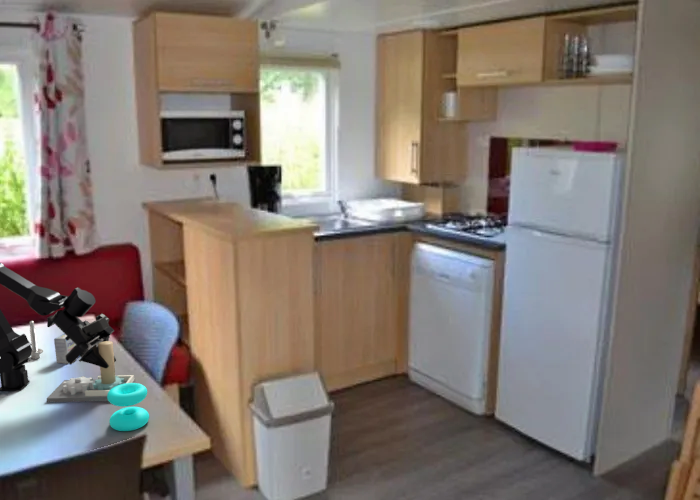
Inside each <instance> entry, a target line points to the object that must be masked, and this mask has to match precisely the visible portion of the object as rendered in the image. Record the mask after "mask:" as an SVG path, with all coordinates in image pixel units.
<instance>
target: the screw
mask: <svg viewBox="0 0 700 500" xmlns="http://www.w3.org/2000/svg"><path fill="white" fill-rule="evenodd" d="M36 330H37V329H36V328H35V322H34V320H30V321H29V333H30V336H29V337H30V341H31V342H30V343H31V344H32V345H31V348H32V353H31V356H30V357H31V359H32V360H37V359H40V356H41V354H43V352H44V350H43V349H41V348H39V347H38V342H37V331H36Z"/></svg>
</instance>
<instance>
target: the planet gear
mask: <svg viewBox="0 0 700 500" xmlns="http://www.w3.org/2000/svg"><path fill="white" fill-rule="evenodd" d="M98 349H99V354H100V355H101V357H102V358H103V359H104V360H105V361H106V362H107V364H108V365H109V367H108V368H103V367H100V366H99V370H100V376H101V379H100V380H99V379H98V378H97V380H95V384H93V388H94V389H98V390H111V389H112V388H113V387H115V386H118V385H121V384H122V383H124V379H123V378H119V376H120V375H116V365H115V362H114V357H115V355H114V354H115V353H114V342H113V341H110V340H109V341H104V342H100V343H99V344H98Z"/></svg>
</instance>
